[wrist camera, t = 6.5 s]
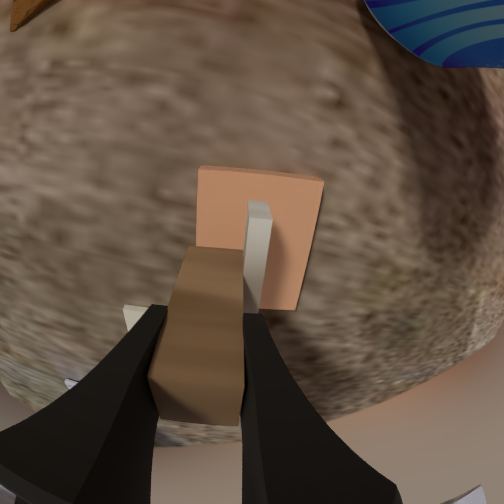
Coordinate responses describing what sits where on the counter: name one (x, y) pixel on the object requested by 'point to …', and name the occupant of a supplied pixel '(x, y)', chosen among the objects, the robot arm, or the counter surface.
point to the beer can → (446, 30)
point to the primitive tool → (25, 11)
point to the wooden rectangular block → (210, 328)
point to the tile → (283, 225)
